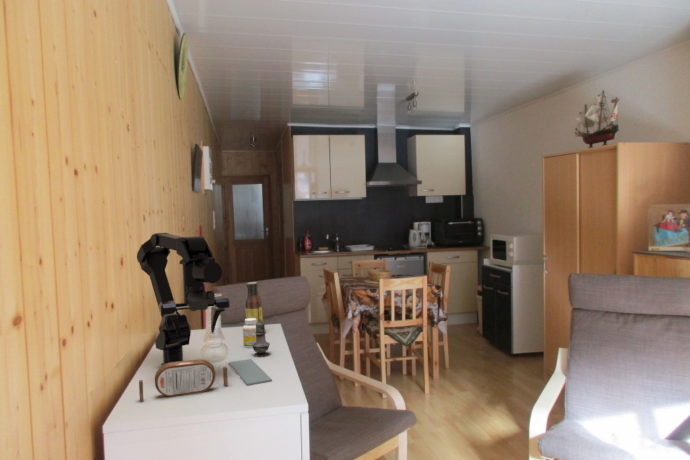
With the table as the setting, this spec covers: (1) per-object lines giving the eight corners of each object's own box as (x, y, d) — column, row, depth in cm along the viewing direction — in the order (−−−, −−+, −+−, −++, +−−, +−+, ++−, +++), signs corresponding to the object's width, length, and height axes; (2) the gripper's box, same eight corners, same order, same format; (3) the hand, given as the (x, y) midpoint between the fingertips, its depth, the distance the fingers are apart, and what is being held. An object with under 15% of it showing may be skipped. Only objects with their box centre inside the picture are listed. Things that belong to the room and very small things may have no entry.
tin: (215, 387, 131) (214, 356, 131) (216, 391, 128) (215, 359, 128) (155, 395, 126) (154, 363, 126) (154, 400, 123) (153, 367, 123)
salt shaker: (257, 358, 156) (256, 321, 155) (248, 355, 160) (247, 318, 160) (273, 355, 160) (272, 318, 159) (264, 351, 164) (263, 315, 164)
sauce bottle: (258, 331, 193) (256, 280, 192) (266, 333, 188) (264, 282, 188) (243, 334, 189) (241, 282, 188) (251, 336, 184) (249, 284, 183)
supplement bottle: (251, 349, 167) (250, 321, 167) (240, 347, 170) (239, 319, 170) (262, 345, 171) (261, 318, 171) (251, 343, 175) (250, 316, 174)
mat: (228, 363, 151) (228, 362, 151) (250, 360, 154) (250, 358, 154) (246, 385, 132) (246, 383, 132) (272, 381, 135) (272, 379, 135)
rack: (139, 400, 123) (138, 380, 123) (226, 384, 133) (225, 366, 133) (140, 402, 122) (139, 382, 122) (227, 386, 132) (227, 367, 131)
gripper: (161, 287, 128) (164, 346, 129) (233, 280, 136) (235, 336, 137) (157, 282, 138) (160, 337, 139) (224, 276, 146) (226, 328, 147)
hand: (195, 334), depth 140 cm, fingers open, 9 cm apart
